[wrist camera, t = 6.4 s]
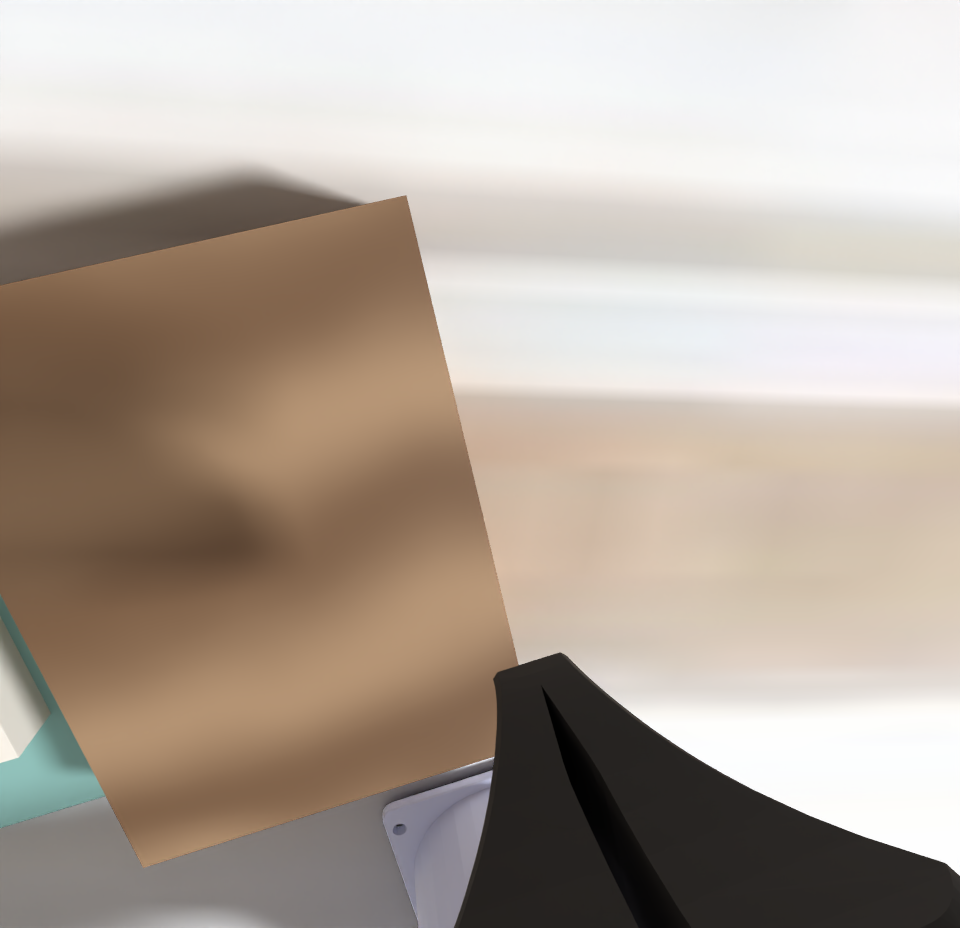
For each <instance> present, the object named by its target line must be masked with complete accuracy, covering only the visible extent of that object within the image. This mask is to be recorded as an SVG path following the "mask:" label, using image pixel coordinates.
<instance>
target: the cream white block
mask: <svg viewBox="0 0 960 928" xmlns="http://www.w3.org/2000/svg"><path fill="white" fill-rule="evenodd" d="M50 714H51V713H50V711H49V709H48V707H47V705H46V703H45V701H44V699H43V697H42V695H41V693H40V691H39V690H38V688H37V686H36V684H35V682H34V680H33V678H32V676H31V674H30V672H29V670H28V668H27V666H26V665H25V663H24V661H23V659H22V657H21V655H20V653H19V651H18V649H17V647H16V645H15V643H14V642H13V640H12V638H11V636H10V634H9V632H8V630H7V628H6V626H5V624H4V622H3V620H2V619H1V617H0V763H2V762H5V761H9V760H12V759H16V758H19V757H20V755H21V754H22V753H23V751H24V750H25V748H26V747H27V746H28V744H29V743H30V742H31V740H32V739H33V737H34V736H35V735H36V733H37V732H38V731H39V729H40V728H41V726H42V725H43V724H44V722H45V721H46V720H47V718H48V717H49V715H50Z"/></svg>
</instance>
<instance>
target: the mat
mask: <svg viewBox="0 0 960 928" xmlns="http://www.w3.org/2000/svg"><path fill="white" fill-rule="evenodd" d="M0 617H1V619H2V620H3V622H4V624H5V626H6V628H7V630H8V632H9V634H10V636H11V638H12V640H13V642H14V643H15V645H16V647H17V649H18V651H19V653H20V655H21V657H22V659H23V661H24V663H25V665H26V666H27V668H28V670H29V672H30V674H31V676H32V678H33V680H34V682H35V684H36V686H37V688H38V690H39V691H40V693H41V695H42V697H43V699H44V701H45V703H46V705H47V707H48V709H49V711H50V713H51V714H50V715H49V717H48V718H47V720H46V721H45V722H44V724H43V725H42V726H41V728H40V729H39V731H38V732H37V733H36V735H35V736H34V737H33V739H32V740H31V742H30V743H29V744H28V746H27V747H26V748H25V750H24V751H23V753H22V754H21V755H20V757H19V758H16V759H12V760H9V761H5V762H2V763H0V828H2V827H6V826H9V825H12V824H15V823H19V822H22V821H25V820H28V819H32V818H35V817H38V816H42V815H45V814H48V813H51V812H55V811H58V810H61V809H65V808H68V807H71V806H74V805H78V804H81V803H84V802H88V801H91V800H94V799H97V798H101V797H104V796H105V794H104V792H103V790H102V788H101V786H100V784H99V782H98V780H97V778H96V777H95V775H94V773H93V771H92V769H91V767H90V765H89V763H88V761H87V759H86V757H85V755H84V754H83V752H82V750H81V748H80V746H79V744H78V742H77V740H76V738H75V736H74V734H73V732H72V731H71V729H70V727H69V725H68V723H67V721H66V719H65V717H64V715H63V713H62V711H61V710H60V708H59V706H58V704H57V702H56V700H55V698H54V696H53V694H52V692H51V690H50V688H49V687H48V685H47V683H46V681H45V679H44V677H43V675H42V673H41V671H40V669H39V667H38V665H37V664H36V662H35V660H34V658H33V656H32V654H31V652H30V650H29V648H28V646H27V644H26V643H25V641H24V639H23V637H22V635H21V633H20V631H19V629H18V627H17V625H16V623H15V621H14V620H13V618H12V616H11V614H10V612H9V610H8V608H7V606H6V604H5V602H4V600H3V598H2V597H1V595H0Z"/></svg>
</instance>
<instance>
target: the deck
mask: <svg viewBox="0 0 960 928" xmlns="http://www.w3.org/2000/svg"><path fill="white" fill-rule="evenodd" d="M0 595H1V597H2V598H3V600H4V602H5V604H6V606H7V608H8V610H9V612H10V614H11V616H12V618H13V620H14V621H15V623H16V625H17V627H18V629H19V631H20V633H21V635H22V637H23V639H24V641H25V643H26V644H27V646H28V648H29V650H30V652H31V654H32V656H33V658H34V660H35V662H36V664H37V665H38V667H39V669H40V671H41V673H42V675H43V677H44V679H45V681H46V683H47V685H48V687H49V688H50V690H51V692H52V694H53V696H54V698H55V700H56V702H57V704H58V706H59V708H60V710H61V711H62V713H63V715H64V717H65V719H66V721H67V723H68V725H69V727H70V729H71V731H72V732H73V734H74V736H75V738H76V740H77V742H78V744H79V746H80V748H81V750H82V752H83V754H84V755H85V757H86V759H87V761H88V763H89V765H90V767H91V769H92V771H93V773H94V775H95V777H96V778H97V780H98V782H99V784H100V786H101V788H102V790H103V792H104V794H105V796H106V798H107V799H108V801H109V803H110V805H111V807H112V809H113V811H114V813H115V815H116V817H117V819H118V821H119V822H120V824H121V826H122V828H123V830H124V832H125V834H126V836H127V838H128V840H129V842H130V844H131V845H132V847H133V849H134V851H135V853H136V855H137V857H138V859H139V861H140V863H141V865H142V866H143V868H145V867H148V866H151V865H154V864H157V863H160V862H163V861H167V860H170V859H173V858H176V857H179V856H182V855H186V854H189V853H192V852H195V851H198V850H201V849H204V848H208V847H211V846H214V845H217V844H220V843H223V842H226V841H230V840H233V839H236V838H239V837H242V836H245V835H249V834H252V833H255V832H258V831H261V830H264V829H267V828H271V827H274V826H277V825H280V824H283V823H286V822H289V821H293V820H296V819H299V818H302V817H305V816H308V815H312V814H315V813H318V812H321V811H324V810H327V809H330V808H334V807H337V806H340V805H343V804H346V803H349V802H353V801H356V800H359V799H362V798H365V797H368V796H371V795H375V794H378V793H381V792H384V791H387V790H390V789H393V788H397V787H400V786H403V785H406V784H409V783H412V782H416V781H419V780H422V779H425V778H428V777H431V776H434V775H438V774H441V773H444V772H447V771H450V770H453V769H456V768H460V767H463V766H466V765H469V764H472V763H475V762H479V761H482V760H485V759H488V758H491V757H494V756H495V744H496V730H497V700H496V690H495V685H494V681H493V678H494V677H495V675H496V674H497V672H499V671H502V670H506V669H509V668H512V667H515V666H518V661H517V657H516V652H515V648H514V644H513V640H512V636H511V632H510V627H509V623H508V619H507V615H506V611H505V606H504V602H503V598H502V594H501V590H500V586H499V581H498V577H497V573H496V569H495V565H494V560H493V556H492V552H491V548H490V544H489V540H488V535H487V531H486V527H485V523H484V519H483V514H482V510H481V506H480V502H479V498H478V494H477V489H476V485H475V481H474V477H473V473H472V468H471V464H470V460H469V456H468V452H467V448H466V443H465V439H464V435H463V431H462V427H461V422H460V418H459V414H458V410H457V406H456V402H455V397H454V393H453V389H452V385H451V381H450V376H449V372H448V368H447V364H446V360H445V356H444V351H443V347H442V343H441V339H440V335H439V330H438V326H437V322H436V318H435V314H434V310H433V305H432V301H431V297H430V293H429V289H428V284H427V280H426V276H425V272H424V268H423V264H422V259H421V255H420V251H419V247H418V243H417V238H416V234H415V230H414V226H413V222H412V217H411V213H410V209H409V205H408V201H407V197H406V196H401V197H396V198H392V199H387V200H383V201H378V202H374V203H369V204H365V205H360V206H356V207H351V208H347V209H342V210H338V211H333V212H329V213H324V214H320V215H315V216H311V217H306V218H302V219H297V220H293V221H288V222H284V223H279V224H275V225H270V226H266V227H261V228H257V229H252V230H248V231H243V232H239V233H234V234H230V235H225V236H221V237H216V238H212V239H207V240H202V241H198V242H193V243H189V244H184V245H180V246H175V247H171V248H166V249H162V250H157V251H153V252H148V253H144V254H139V255H135V256H130V257H126V258H121V259H117V260H112V261H108V262H103V263H99V264H94V265H90V266H85V267H81V268H76V269H72V270H67V271H63V272H58V273H54V274H49V275H45V276H40V277H36V278H31V279H27V280H22V281H17V282H13V283H8V284H4V285H0Z"/></svg>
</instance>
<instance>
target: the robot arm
mask: <svg viewBox="0 0 960 928" xmlns="http://www.w3.org/2000/svg"><path fill="white" fill-rule="evenodd" d="M493 681H494V685H495V690H496V700H497V730H496V744H495V757H494V766H493V770H491V771H488V772H485V773H482V774H479V775H476V776H473V777H469V778H466V779H463V780H460V781H457V782H454V783H451V784H447V785H444V786H441V787H438V788H435V789H432V790H429V791H426V792H422V793H419V794H416V795H413V796H410V797H407V798H404V799H401V800H397V801H394V802H392V803H390V804H388V805H387V806H386V807H385V808H384V810H383V824H384V827H385V830H386V833H387V835H388V838H389V841H390V844H391V847H392V850H393V852H394V855H395V858H396V861H397V864H398V867H399V870H400V872H401V875H402V878H403V881H404V884H405V887H406V889H407V892H408V895H409V898H410V901H411V904H412V907H413V909H414V912H415V915H416V918H417V921H418V928H960V876H959V875H958V874H957V873H956V872H955V871H953V870H952V869H951V868H950V867H949V866H948V865H947V864H945V863H943V862H940V861H937V860H934V859H931V858H928V857H925V856H921V855H918V854H915V853H912V852H909V851H906V850H903V849H900V848H897V847H894V846H890V845H887V844H884V843H881V842H878V841H875V840H872V839H869V838H866V837H863V836H860V835H857V834H855V833H852V832H849V831H847V830H844V829H842V828H839V827H837V826H834V825H831V824H829V823H826V822H824V821H821V820H819V819H816V818H814V817H811V816H809V815H806V814H804V813H802V812H800V811H798V810H796V809H793V808H791V807H789V806H787V805H785V804H783V803H780V802H778V801H776V800H774V799H772V798H770V797H767V796H765V795H763V794H761V793H759V792H757V791H754V790H752V789H750V788H749V787H747V786H745V785H743V784H741V783H739V782H737V781H735V780H734V779H732V778H730V777H728V776H726V775H724V774H722V773H721V772H719V771H717V770H716V769H714V768H712V767H710V766H709V765H707V764H705V763H704V762H702V761H700V760H698V759H697V758H695V757H694V756H692V755H690V754H689V753H687V752H686V751H684V750H683V749H681V748H680V747H678V746H676V745H675V744H673V743H672V742H671V741H669V740H668V739H666V738H665V737H663V736H662V735H660V734H659V733H657V732H656V731H655V730H653V729H652V728H650V727H649V726H648V725H646V724H645V723H644V722H642V721H641V720H639V719H638V718H637V717H636V716H634V715H633V714H632V713H631V712H629V711H628V710H627V709H625V708H624V707H623V706H622V705H620V704H619V703H618V702H617V701H615V700H614V699H613V698H612V697H610V696H609V695H608V694H607V693H606V692H604V691H603V690H602V689H601V688H600V687H599V686H598V685H596V684H595V683H594V682H593V681H592V680H591V679H590V678H589V677H588V676H586V675H585V674H584V673H583V672H582V671H581V670H580V669H579V668H578V667H577V666H576V665H575V664H574V663H573V662H572V661H571V660H570V659H569V658H568V657H567V656H566V655H564V654H562V653H557V654H554V655H550V656H547V657H544V658H541V659H538V660H534V661H531V662H528V663H525V664H522V665H518V666H515V667H512V668H509V669H506V670H502V671H499V672H497V674H496V675H495V677H494V678H493ZM397 824H403V825H402V826H400V827H396V825H397Z"/></svg>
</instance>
